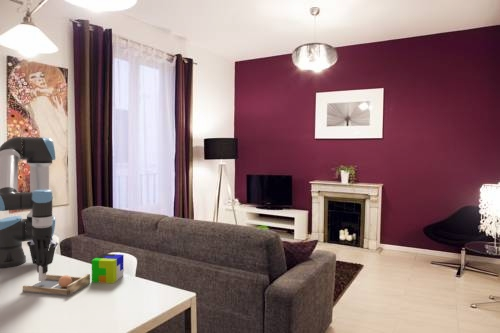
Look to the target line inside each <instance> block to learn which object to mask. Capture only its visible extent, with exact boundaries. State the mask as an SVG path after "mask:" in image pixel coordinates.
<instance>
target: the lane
mask: <svg viewBox="0 0 500 333" xmlns="http://www.w3.org/2000/svg"><path fill="white" fill-rule="evenodd" d="M73 282H74V281H72V282H71V283H73ZM90 284H91V281H90V282H89V283H88V284H86V285H84V286H83V287H81V288H79V289H78V290H76V291H75V292H73V293H71V294H70V295H66V294H55V293H44V292H33V291H23V290H22V293H27V294H28V293H31V294H42V295H50V296H51V295H53V296H63V297H64V296H65V297H70V296H72V295H74V294H75V293H77V292H79V291H81V290H82V289H83V288H85V287H87V286H88V285H90ZM32 286H35V287H46V288H58V289H67V287H66V288H63V287H61V286H60V285H59V280H51V279H45V280H43V281H38V282H37V283H35V284H33V285H32Z"/></svg>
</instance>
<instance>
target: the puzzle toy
mask: <svg viewBox="0 0 500 333" xmlns="http://www.w3.org/2000/svg"><path fill="white" fill-rule="evenodd" d="M124 256H125V255H124V254H116V253H114V254H113V253H112V254H111V253H102V254H100V255H99V256H97V257H95V258H93V259H92V260H91V283H101V284H103V283H104V284H114V283H116V282H117V281H118V280H120V279H121V278H122V277H123V276H124ZM115 281H116V282H115Z"/></svg>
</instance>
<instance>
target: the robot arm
mask: <svg viewBox="0 0 500 333" xmlns="http://www.w3.org/2000/svg"><path fill="white" fill-rule="evenodd" d="M21 160H25V161H26V164H27V165H28V166H29V192H28V191H26V192H19V190H18V189H19V188H18V187H19V162H20V161H21ZM53 161H56V151H55V144H54V140H53V139H52V138H50V137H44V136H43V137H42V136H41V137H40V136H39V137H34V136H32V137H31V136H16V137H15V136H14V137H12V138H9V139H8V140H6V141H5V142H3V143H2V144H1V145H0V212H5V211H6V212H7V211H20V210H22V211H23V210H29V213H27V215H26V218H23V217H22V216H21V215H17V216H8V217H5V218H1V219H0V269H3V268H11V267H16V266H21V265H22V264H25V263H27V262H26V261H27V257H26V256H27V255H25V252H24V248H23V242H27V243H26V244H27V246H28V247H29V252H30V257H31V261H32V264H33V265H36V268H37V274H38V282H41V281H43V280H45V279H46V275H47V273H48V271H49V270H48V269H49V268H48V266H49V265H51V264H52V263H53V261H54V256H55V251H56V247H57V246H58V245H59V244H58V241H56V242H55V241H54V240H53V236H54V233H55V229H56V216H53V198H54V196H53V191H52V190H51V189H50V166H51V165H52V164H53Z"/></svg>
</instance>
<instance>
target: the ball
mask: <svg viewBox="0 0 500 333" xmlns="http://www.w3.org/2000/svg"><path fill="white" fill-rule="evenodd" d="M61 276H62V277H61V278H60V279H59V285H60V286H61V287H63V288H66V287H67V286H68V285H69V284H71V282H72V279H71V277H72V276H71V275H66V274H64V275H61ZM70 276H71V277H70Z"/></svg>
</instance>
